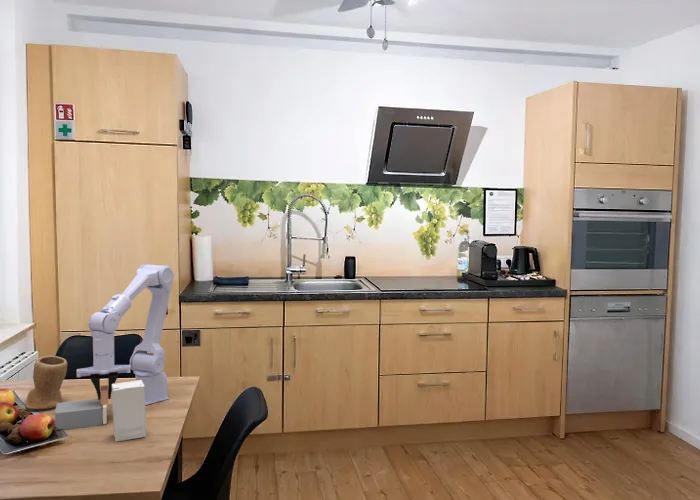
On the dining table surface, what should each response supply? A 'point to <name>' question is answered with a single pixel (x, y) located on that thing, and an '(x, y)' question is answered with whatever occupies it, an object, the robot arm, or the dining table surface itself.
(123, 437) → the skincare box
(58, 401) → the stone cup
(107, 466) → the dining table surface
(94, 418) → the carton
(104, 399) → the white pull-out drawer
